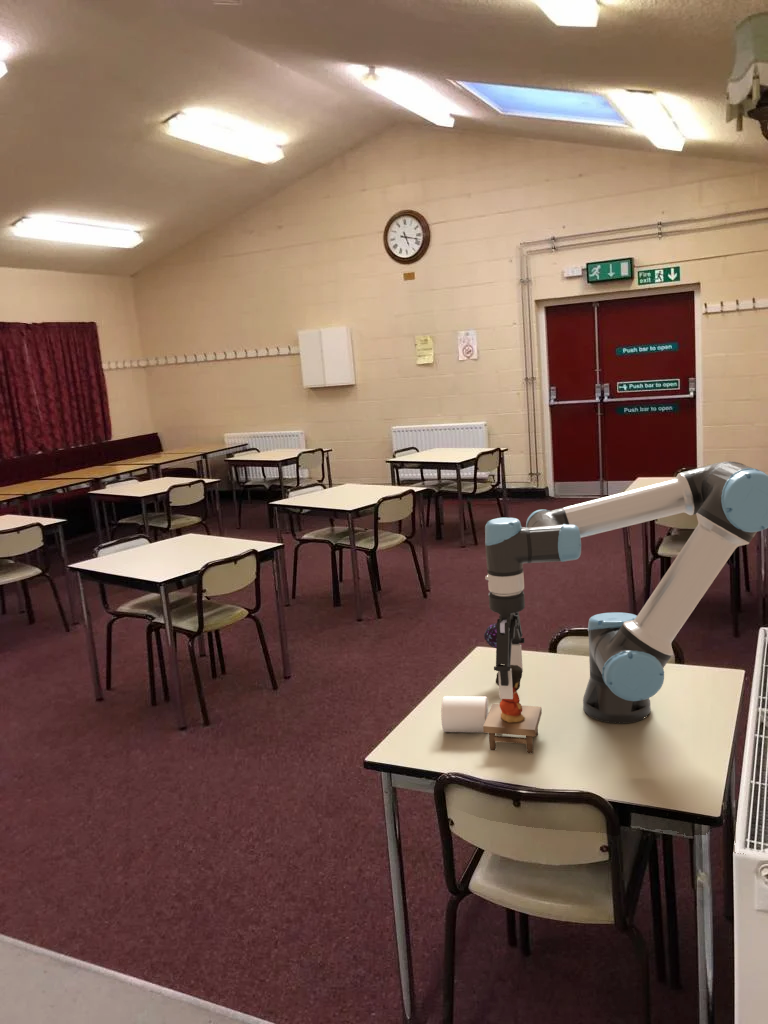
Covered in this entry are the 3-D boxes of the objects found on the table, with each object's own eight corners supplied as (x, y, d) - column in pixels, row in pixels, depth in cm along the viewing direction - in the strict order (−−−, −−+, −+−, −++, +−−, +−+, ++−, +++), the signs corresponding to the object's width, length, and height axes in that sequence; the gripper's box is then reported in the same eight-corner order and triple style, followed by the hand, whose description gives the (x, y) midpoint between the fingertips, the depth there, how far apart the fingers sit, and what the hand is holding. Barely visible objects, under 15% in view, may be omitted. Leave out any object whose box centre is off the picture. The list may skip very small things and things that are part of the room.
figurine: (522, 725, 169) (519, 673, 166) (496, 723, 171) (493, 671, 168) (528, 712, 174) (525, 661, 172) (503, 710, 177) (500, 659, 174)
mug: (486, 739, 177) (484, 706, 175) (442, 738, 179) (440, 705, 177) (490, 714, 188) (488, 683, 187) (448, 714, 190) (446, 683, 189)
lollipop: (486, 672, 212) (483, 619, 209) (512, 672, 211) (509, 618, 208) (486, 683, 205) (483, 628, 202) (513, 683, 204) (510, 628, 201)
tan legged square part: (542, 731, 178) (541, 706, 177) (536, 756, 168) (534, 729, 167) (493, 727, 181) (492, 703, 180) (484, 751, 171) (483, 726, 170)
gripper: (498, 573, 180) (504, 661, 185) (476, 610, 157) (483, 709, 162) (532, 574, 178) (536, 662, 182) (514, 611, 155) (520, 711, 159)
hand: (511, 684), depth 172 cm, fingers open, 13 cm apart
